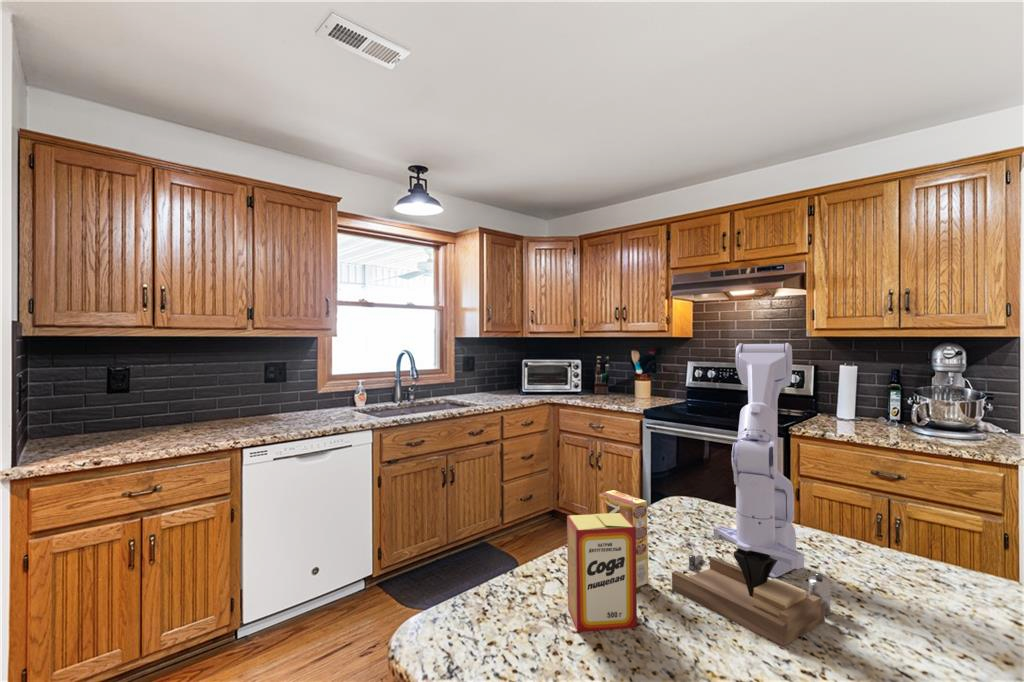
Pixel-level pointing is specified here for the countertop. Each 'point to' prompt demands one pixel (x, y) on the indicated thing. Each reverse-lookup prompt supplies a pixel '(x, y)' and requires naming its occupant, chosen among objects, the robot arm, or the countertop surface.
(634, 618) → the baking soda box
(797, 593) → the tan wooden block
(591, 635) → the countertop surface
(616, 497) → the candy box
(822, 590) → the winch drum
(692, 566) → the crank handle
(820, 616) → the bay
